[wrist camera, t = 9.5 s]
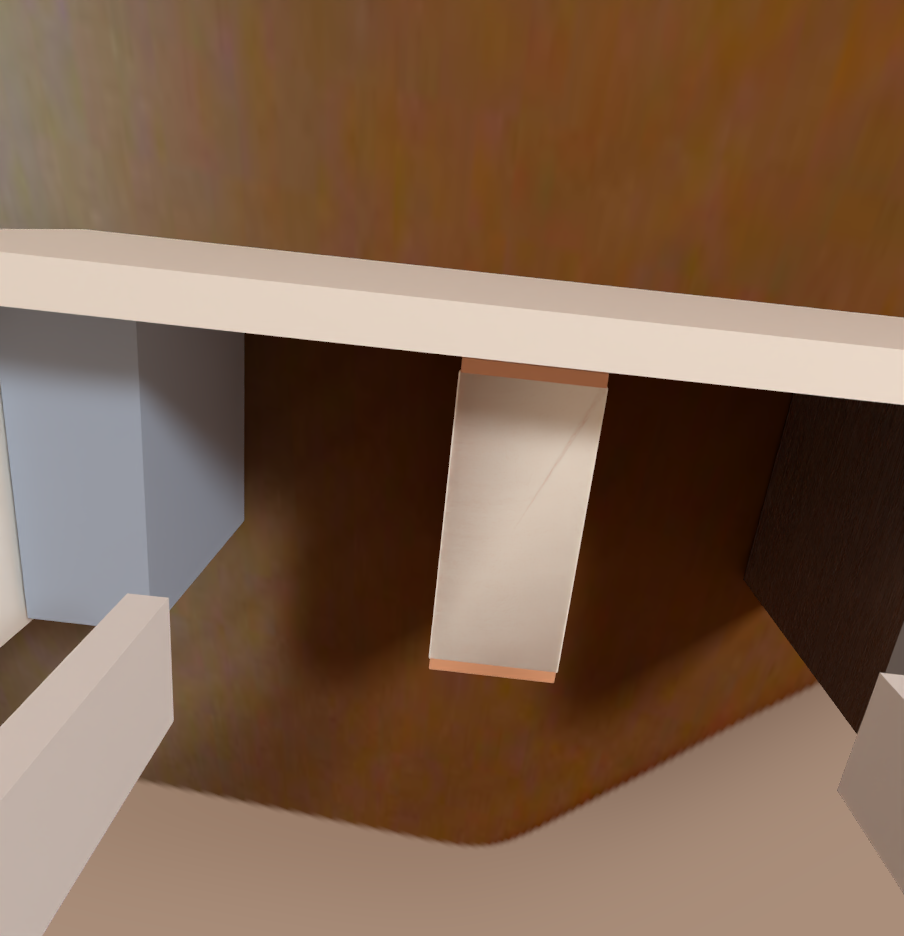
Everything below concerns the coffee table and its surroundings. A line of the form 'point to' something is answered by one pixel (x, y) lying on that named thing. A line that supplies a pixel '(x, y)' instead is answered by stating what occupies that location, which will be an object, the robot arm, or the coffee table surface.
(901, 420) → the bookend
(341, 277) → the white upright backboard
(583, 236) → the coffee table surface
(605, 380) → the rust book
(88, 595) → the blue book
